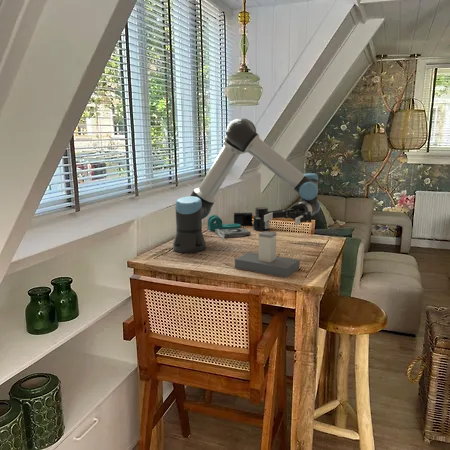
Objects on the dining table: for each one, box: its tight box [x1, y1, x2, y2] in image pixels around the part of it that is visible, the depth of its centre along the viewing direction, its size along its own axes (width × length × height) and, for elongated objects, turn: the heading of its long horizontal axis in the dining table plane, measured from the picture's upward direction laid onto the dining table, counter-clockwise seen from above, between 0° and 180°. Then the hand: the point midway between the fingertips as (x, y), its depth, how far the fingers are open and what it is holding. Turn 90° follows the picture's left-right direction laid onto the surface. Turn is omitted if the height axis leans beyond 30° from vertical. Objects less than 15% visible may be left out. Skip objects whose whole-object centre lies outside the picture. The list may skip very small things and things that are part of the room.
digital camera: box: [233, 212, 253, 227], centre depth 247 cm, size 10×5×7 cm, turn 90°
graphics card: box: [214, 227, 251, 240], centre depth 223 cm, size 17×4×12 cm
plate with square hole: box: [234, 251, 301, 279], centre depth 168 cm, size 22×12×4 cm, turn 58°
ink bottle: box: [252, 206, 271, 232], centre depth 236 cm, size 10×9×12 cm
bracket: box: [207, 214, 242, 232], centre depth 238 cm, size 18×7×8 cm, turn 104°
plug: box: [258, 230, 277, 263], centre depth 167 cm, size 5×5×14 cm
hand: (280, 220), depth 172 cm, fingers open, 13 cm apart
